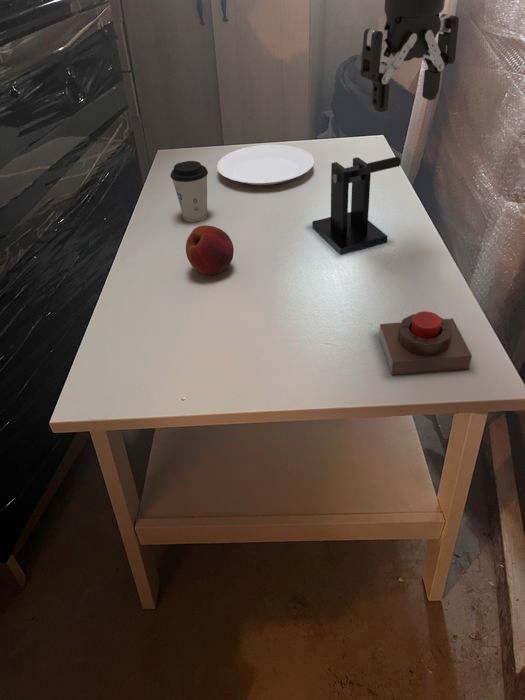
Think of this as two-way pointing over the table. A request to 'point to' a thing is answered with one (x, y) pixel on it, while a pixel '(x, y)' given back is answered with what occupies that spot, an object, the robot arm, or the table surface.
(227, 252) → the apple
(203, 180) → the coffee cup
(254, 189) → the table surface
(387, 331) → the control block
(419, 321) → the button
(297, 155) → the plate
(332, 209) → the lever stand
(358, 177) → the black lever
